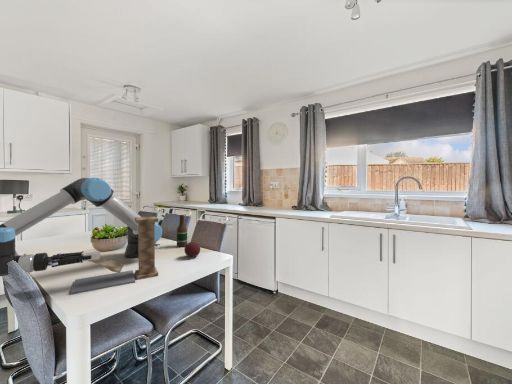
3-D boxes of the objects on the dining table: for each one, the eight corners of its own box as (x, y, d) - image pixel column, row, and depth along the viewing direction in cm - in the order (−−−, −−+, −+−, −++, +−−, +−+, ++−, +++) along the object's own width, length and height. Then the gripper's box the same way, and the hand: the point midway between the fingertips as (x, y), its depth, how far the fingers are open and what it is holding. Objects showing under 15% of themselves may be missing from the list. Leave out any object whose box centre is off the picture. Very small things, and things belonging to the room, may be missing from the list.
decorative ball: (202, 255, 159) (203, 240, 158) (195, 260, 149) (195, 244, 149) (189, 254, 161) (189, 239, 161) (181, 258, 151) (181, 243, 151)
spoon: (78, 260, 107) (82, 253, 107) (79, 255, 113) (83, 250, 113) (120, 273, 116) (123, 268, 116) (119, 269, 122) (123, 263, 122)
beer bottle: (178, 245, 184) (178, 214, 183) (188, 244, 184) (188, 214, 183) (175, 247, 176) (175, 215, 175) (186, 247, 177) (186, 215, 176)
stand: (136, 279, 118) (136, 220, 117) (135, 273, 127) (134, 217, 126) (158, 275, 124) (158, 218, 122) (155, 269, 132) (155, 216, 131)
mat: (70, 294, 102) (70, 292, 102) (75, 281, 116) (75, 279, 116) (135, 282, 115) (135, 280, 115) (132, 271, 129) (132, 270, 129)
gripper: (29, 259, 95) (99, 251, 107) (39, 249, 108) (100, 243, 120) (29, 277, 95) (99, 267, 108) (39, 265, 108) (100, 258, 121)
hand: (99, 254), depth 114 cm, fingers closed on spoon, 2 cm apart
